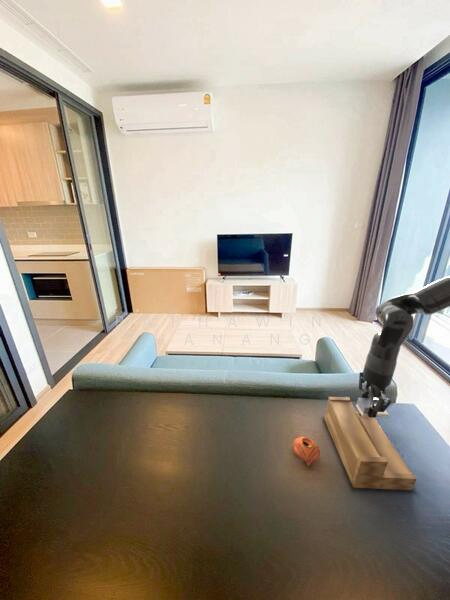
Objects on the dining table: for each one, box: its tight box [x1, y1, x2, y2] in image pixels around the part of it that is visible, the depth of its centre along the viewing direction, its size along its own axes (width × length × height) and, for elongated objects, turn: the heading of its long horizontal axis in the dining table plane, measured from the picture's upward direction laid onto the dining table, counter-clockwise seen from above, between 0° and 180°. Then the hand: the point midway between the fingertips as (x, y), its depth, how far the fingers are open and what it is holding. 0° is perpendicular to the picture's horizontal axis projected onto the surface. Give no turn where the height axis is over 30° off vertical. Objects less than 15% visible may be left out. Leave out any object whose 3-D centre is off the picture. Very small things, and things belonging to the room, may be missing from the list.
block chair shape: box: [355, 397, 390, 418], centre depth 79 cm, size 8×4×4 cm, turn 88°
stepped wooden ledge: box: [323, 396, 417, 491], centre depth 77 cm, size 16×23×11 cm
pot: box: [292, 436, 321, 467], centre depth 75 cm, size 8×8×7 cm
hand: (367, 410), depth 79 cm, fingers closed on block chair shape, 4 cm apart
